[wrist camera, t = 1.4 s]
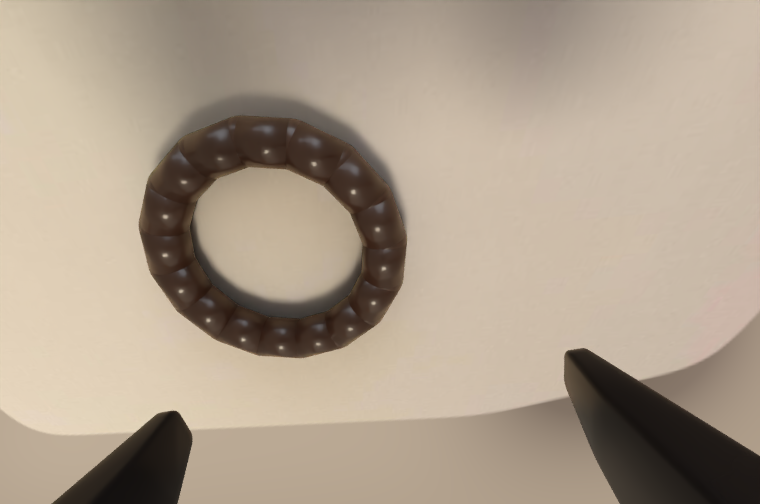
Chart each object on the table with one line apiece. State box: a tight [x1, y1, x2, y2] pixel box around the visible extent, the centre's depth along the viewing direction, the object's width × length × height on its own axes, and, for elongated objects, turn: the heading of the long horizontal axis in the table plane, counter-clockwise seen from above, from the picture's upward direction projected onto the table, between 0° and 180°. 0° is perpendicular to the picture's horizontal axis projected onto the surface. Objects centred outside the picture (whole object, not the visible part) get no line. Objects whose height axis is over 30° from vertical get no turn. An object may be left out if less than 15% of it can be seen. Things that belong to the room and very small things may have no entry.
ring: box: [139, 116, 407, 358], centre depth 18 cm, size 12×12×2 cm
